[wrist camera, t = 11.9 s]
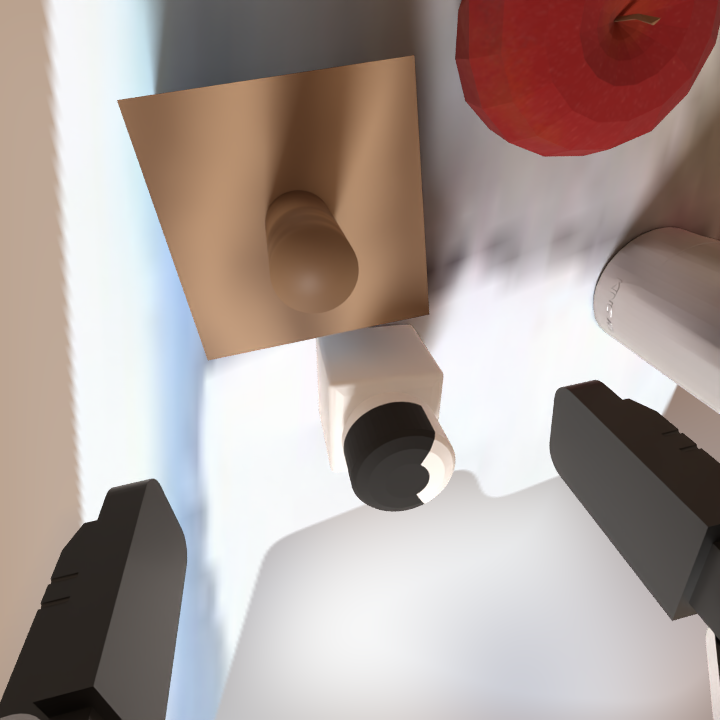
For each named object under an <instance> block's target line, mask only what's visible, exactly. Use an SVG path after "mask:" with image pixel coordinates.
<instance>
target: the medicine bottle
mask: <svg viewBox="0 0 720 720" xmlns="http://www.w3.org/2000/svg"><path fill="white" fill-rule="evenodd" d="M316 352H317V377H318V401H319V413H320V418H321V423H322V428H323V433H324V438H325V443H326V448H327V453H328V457H329V462H330V467H331V470H332V471H333V472H342V471H348V472H349V476H350V480H351V485H352V488H353V491H354V493H355V494H356V496H357V497H358V498H359V499H360V500H361V501H362V502H364V503H365V504H367V505H369V506H371V507H374V508H376V509H379V510H384V511H404V510H409V509H413V508H415V507H418V506H420V505H423V504H425V503H427V502H428V501H430V500H431V499H433V498H434V497H436V496H437V495H438V494H439V493H440V492H441V491H442V490H443V489H444V488H445V486H446V485H447V483H448V482H449V479H450V478H451V476H452V474H453V471H454V467H455V453H454V450H453V448H452V446H451V444H450V442H449V440H448V438H447V437H446V435H445V433H444V431H443V429H442V427H441V426H440V424H439V422H438V418H439V410H440V401H441V393H442V384H443V372H442V371H441V369H440V368H439V366H438V365H437V363H436V362H435V360H434V359H433V357H432V355H431V354H430V352H429V351H428V349H427V348H426V346H425V345H424V343H423V342H422V340H421V339H420V337H419V336H418V334H417V332H416V331H415V329H414V328H413V327H412V326H411V325H409V324H407V325H394V326H381V327H369V328H361V329H356V330H352V331H347V332H342V333H337V334H332V335H328V336H323V337H318V338H316Z"/></svg>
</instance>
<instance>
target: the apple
mask: <svg viewBox="0 0 720 720" xmlns="http://www.w3.org/2000/svg"><path fill="white" fill-rule="evenodd" d="M719 26H720V0H462V1H461V4H460V7H459V10H458V24H457V39H456V55H455V60H456V64H457V68H458V72H459V76H460V81H461V85H462V89H463V93H464V97H465V101H466V102H467V103H468V104H469V106H470V107H471V108H472V109H473V110H474V112H475V113H476V114H477V115H478V116H479V117H480V119H481V120H482V121H483V122H484V123H485V124H486V126H487V127H488V128H489V129H490V130H492V131H493V132H495V133H496V134H497V135H499V136H500V137H502V138H503V139H505V140H506V141H508V142H509V143H511V144H514V145H516V146H519V147H522V148H524V149H527V150H529V151H532V152H534V153H537V154H539V155H542V156H584V155H588V154H592V153H596V152H600V151H604V150H608V149H611V148H613V147H616V146H618V145H620V144H623V143H625V142H627V141H629V140H632V139H634V138H636V137H639V136H641V135H643V134H646V133H648V132H650V131H652V130H653V129H654V128H655V127H656V126H657V125H658V124H659V123H660V122H661V121H662V120H663V119H664V118H665V116H666V115H667V114H668V113H669V112H670V111H671V110H672V109H673V108H674V107H675V106H676V105H677V104H678V103H679V102H680V101H681V100H682V99H683V98H684V97H685V96H686V95H687V94H688V92H689V90H690V89H691V87H692V85H693V83H694V81H695V80H696V78H697V76H698V74H699V72H700V71H701V69H702V67H703V65H704V64H705V62H706V60H707V58H708V56H709V55H710V53H711V51H712V49H713V47H714V46H715V44H716V39H717V35H718V30H719Z"/></svg>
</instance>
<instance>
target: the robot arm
mask: <svg viewBox="0 0 720 720" xmlns="http://www.w3.org/2000/svg"><path fill="white" fill-rule="evenodd" d="M593 310H594V315H595V319H596V321H597V323H598V325H599V326H600V328H601V329H603V330H604V331H605V332H606V333H607V334H608V335H610V336H611V337H612V338H614V339H615V340H617V341H618V342H619V343H621V344H622V345H624V346H625V347H626V348H628V349H629V350H631V351H632V352H633V353H635V354H636V355H637V356H639V357H640V358H641V359H643V360H644V361H646V362H647V363H648V364H650V365H651V366H653V367H654V368H655V369H657V370H658V371H660V372H661V373H662V374H664V375H665V376H667V377H668V378H669V379H671V380H672V381H674V382H675V383H677V384H678V385H679V386H681V387H682V388H684V389H685V390H686V391H688V392H689V393H691V394H692V395H693V396H695V397H696V398H698V399H699V400H700V401H702V402H703V403H705V404H706V405H707V406H709V407H710V408H712V409H713V410H714V411H716V412H717V413H719V414H720V241H719V240H716V239H713V238H710V237H704V236H701V235H698V234H695V233H692V232H689V231H686V230H683V229H680V228H674V227H665V228H660V229H654V230H652V231H650V232H647V233H645V234H642V235H640V236H639V237H637V238H636V239H634V240H632V241H631V242H629V243H628V244H627V245H626V246H625V247H624V248H622V249H621V250H620V251H619V252H618V253H617V254H616V255H615V256H614V258H613V259H612V260H611V261H610V262H609V264H608V265H607V267H606V268H605V270H604V271H603V273H602V275H601V277H600V279H599V282H598V284H597V286H596V290H595V295H594V303H593ZM550 454H551V458H552V461H553V464H554V466H555V468H556V470H557V472H558V474H559V475H560V476H561V478H562V479H563V480H564V481H565V483H566V484H567V485H568V487H569V488H570V489H571V491H572V492H573V493H574V494H575V496H576V497H577V498H578V500H579V501H580V502H581V503H582V505H583V506H584V507H585V508H586V510H587V511H588V513H589V514H590V515H591V516H592V517H593V519H594V520H595V522H596V523H597V524H598V525H599V527H600V528H601V529H602V531H603V532H604V533H605V535H606V536H607V537H608V538H609V540H610V541H611V542H612V544H613V545H614V546H615V547H616V549H617V550H618V551H619V553H620V554H621V555H622V556H623V558H624V559H625V560H626V562H627V563H628V564H629V566H630V567H631V568H632V569H633V571H634V572H635V573H636V575H637V576H638V577H639V578H640V580H641V581H642V582H643V584H644V585H645V586H646V588H647V589H648V590H649V591H650V593H651V594H652V595H653V597H654V598H655V599H656V600H657V602H658V603H659V604H660V606H661V607H662V608H663V610H664V611H665V612H666V613H667V615H668V616H669V617H670V618H671V620H672V621H673V620H677V619H680V618H683V617H687V616H691V615H694V614H698V615H699V616H700V617H701V618H702V619H703V621H704V622H705V623H706V624H707V625H708V629H707V632H706V649H707V660H708V670H709V682H710V692H711V703H712V713H713V720H720V463H719V462H717V461H716V460H715V459H714V458H712V457H711V456H710V455H709V454H708V453H707V452H705V451H704V450H703V449H698V448H697V445H696V443H694V442H693V441H692V440H691V439H690V438H688V437H687V436H686V435H685V434H683V433H681V434H680V433H679V431H678V429H677V428H676V427H675V426H674V425H672V424H671V423H670V422H669V421H668V420H666V419H665V418H664V417H663V416H662V415H660V414H659V413H658V412H657V411H655V410H652V409H650V408H648V407H646V406H644V405H642V404H639V403H637V402H635V401H633V400H631V399H624V400H622V399H621V398H620V397H619V396H617V395H616V394H615V393H614V392H613V391H612V390H610V389H609V388H608V387H607V386H606V385H605V384H603V383H602V382H600V381H598V380H592V381H588V382H583V383H579V384H575V385H570V386H566V387H561V388H559V389H558V390H557V391H556V393H555V398H554V407H553V416H552V426H551V435H550ZM186 566H187V548H186V541H185V537H184V534H183V531H182V529H181V527H180V524H179V522H178V520H177V518H176V516H175V514H174V512H173V510H172V508H171V506H170V504H169V502H168V500H167V498H166V496H165V494H164V492H163V490H162V488H161V486H160V484H159V483H158V481H157V480H155V479H149V480H144V481H140V482H135V483H131V484H126V485H122V486H118V487H113V488H111V489H110V490H109V491H108V493H107V495H106V497H105V500H104V503H103V506H102V508H101V511H100V514H99V517H98V520H96V521H92V522H87V523H84V524H83V525H82V526H81V528H80V529H79V530H78V531H77V533H76V534H75V535H74V536H73V538H72V539H71V540H70V541H69V543H68V544H67V545H66V546H65V547H64V549H63V550H62V552H61V555H60V557H59V560H58V562H57V564H56V567H55V570H54V572H53V574H52V577H51V584H49V585H48V587H47V589H46V592H45V594H44V596H43V599H42V601H41V609H39V610H38V611H37V613H36V616H35V618H34V621H33V623H32V626H31V628H30V631H29V633H28V636H27V638H26V640H25V643H24V645H23V648H22V650H21V653H20V655H19V658H18V660H17V662H16V665H15V668H14V670H13V672H12V675H11V677H10V680H9V682H8V684H7V687H6V689H5V692H4V694H3V697H2V700H1V702H0V720H165V717H166V710H167V703H168V695H169V688H170V681H171V674H172V667H173V659H174V652H175V645H176V638H177V631H178V624H179V616H180V609H181V602H182V595H183V588H184V580H185V573H186Z"/></svg>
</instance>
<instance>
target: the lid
mask: <svg viewBox="0 0 720 720" xmlns="http://www.w3.org/2000/svg"><path fill="white" fill-rule="evenodd" d="M117 101H118V104H119V107H120V110H121V113H122V116H123V119H124V121H125V124H126V127H127V130H128V133H129V136H130V139H131V141H132V144H133V147H134V150H135V153H136V156H137V159H138V161H139V164H140V167H141V170H142V173H143V176H144V179H145V182H146V184H147V187H148V190H149V193H150V196H151V199H152V202H153V204H154V207H155V210H156V213H157V216H158V219H159V222H160V224H161V227H162V230H163V233H164V236H165V239H166V242H167V244H168V247H169V250H170V253H171V256H172V259H173V262H174V265H175V267H176V270H177V273H178V276H179V279H180V282H181V285H182V287H183V290H184V293H185V296H186V299H187V302H188V305H189V307H190V310H191V313H192V316H193V319H194V322H195V325H196V327H197V330H198V333H199V336H200V339H201V342H202V345H203V347H204V350H205V353H206V356H207V359H208V360H212V359H217V358H222V357H226V356H231V355H236V354H241V353H246V352H251V351H255V350H260V349H265V348H270V347H275V346H279V345H284V344H289V343H294V342H299V341H303V340H308V339H313V338H318V337H323V336H328V335H332V334H337V333H342V332H347V331H352V330H356V329H361V328H366V327H371V326H376V325H380V324H385V323H390V322H395V321H400V320H404V319H409V318H414V317H419V316H424V315H429V302H428V284H427V267H426V249H425V232H424V215H423V197H422V180H421V162H420V145H419V128H418V110H417V93H416V75H415V58H414V55H412V56H406V57H399V58H393V59H386V60H379V61H373V62H366V63H360V64H353V65H346V66H340V67H333V68H326V69H320V70H313V71H307V72H300V73H293V74H287V75H280V76H274V77H267V78H260V79H254V80H247V81H241V82H234V83H227V84H221V85H214V86H208V87H201V88H194V89H188V90H181V91H175V92H168V93H161V94H155V95H148V96H141V97H135V98H128V99H122V100H117Z"/></svg>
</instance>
